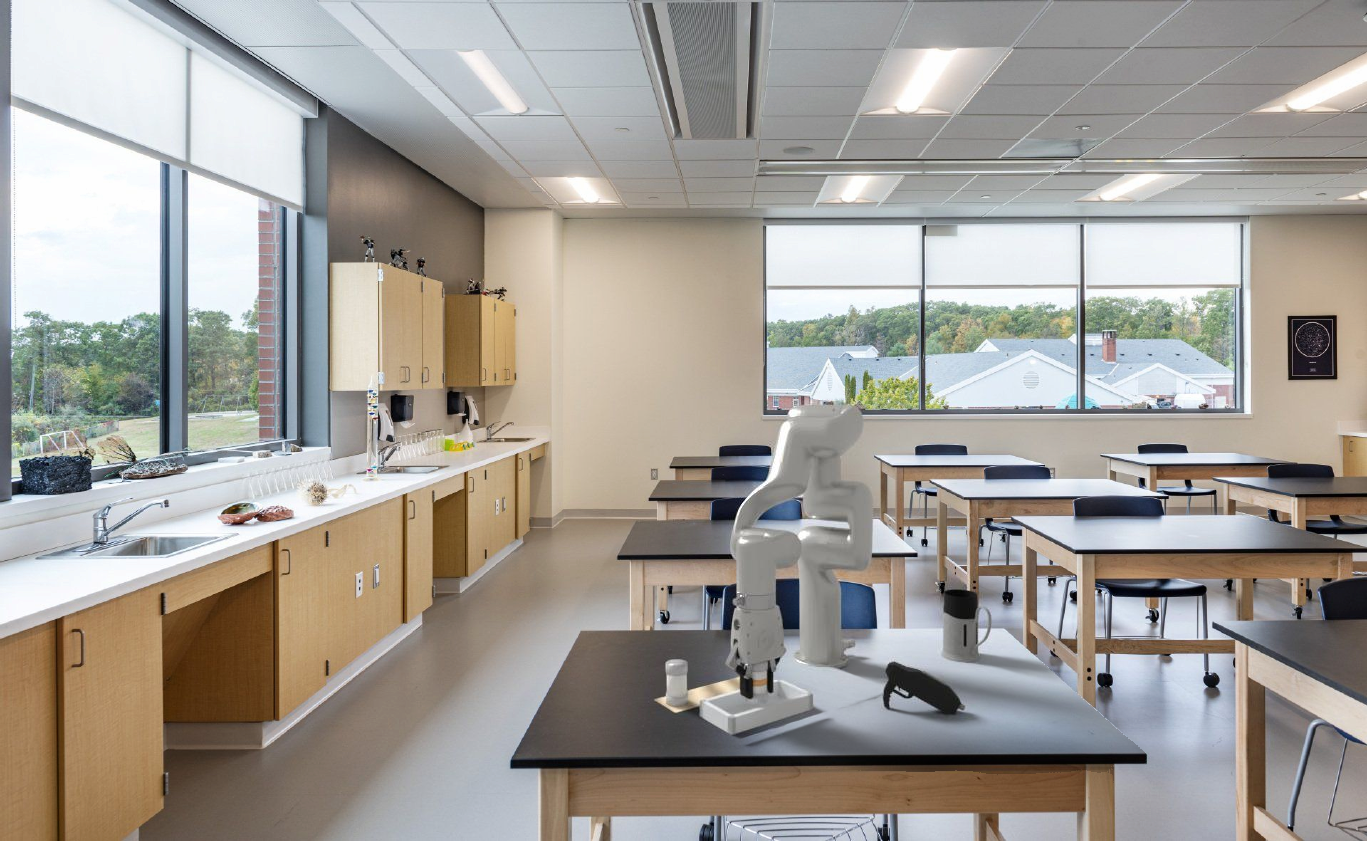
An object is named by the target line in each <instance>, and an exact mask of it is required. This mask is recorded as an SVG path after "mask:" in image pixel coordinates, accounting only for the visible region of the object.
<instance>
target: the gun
mask: <svg viewBox="0 0 1367 841" xmlns="http://www.w3.org/2000/svg"><path fill="white" fill-rule="evenodd" d="M884 671H885V674H886V676H887V681H886V683H885V685H884V687H883V692H882V701H883V702H882V703H883V707H884V708H886V709H887V710H891V707H890V706H891V705H890V701H891V696H892V695H891V694H893V693H894V694H896V695H898V696H899V697H901V698H902V699H907V700H908V699H912V698H913V697H915V698H917V699H918V700H921V701H922V702H924V703H926V704H928V705H929V706H931V707H933V708H935V709H937V710H938V711H941V712H942V713H944V714H945V715H947V716H955V715H956V713H957V711H958V710H961V711H964V710H965V709H966V705H965V704H964V703H962V701H961V699H960V697H959V696H958V695H957V693H956V692H955V691H954V690H953V689H952V687H950V686H949V685H948V684H947V682H945V681H943V680H941V679H939V678H938V677H936V676H934V675H933V674H930V673H929V672H927V671H925V670H921V669H919V668H914V667H910V666H906V665H903V664H902V663H899V662H897V661H891V662H889V663H888V664H887V666H886V668H885V670H884ZM896 687H897V688H898V690H897V689H896ZM901 690H902V691H903V692H906V693H908V694H907V695H906V694H904V693H902V692H901Z"/></svg>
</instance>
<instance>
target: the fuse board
mask: <svg viewBox="0 0 1367 841" xmlns="http://www.w3.org/2000/svg"><path fill="white" fill-rule="evenodd" d="M736 690H740V676H736V677H732V678H730V679H727V680H722V681H719V682H718V681H717V682H713V683H710V684H708V685H703V686H699V687H696V688H692V689H689V690H688V689H687V693H688V704H687V705H685V706H682V707H672V706H669V705H667V704H666V695H665V696H661V697H658V698H655V699H653V700H654V701H655V702H657V703H658V704H660V705H662V706H664V707H665V708H666V709H668V710H669V711H671V712H673V713H675V714H677V713H680V712H684V711H687V710H690V709H694V708H698V707H699V708H700V700H704V699H707V698H711V697H715V696H718V695H722V694H726V693H729V692H733V691H736Z"/></svg>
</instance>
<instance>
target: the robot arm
mask: <svg viewBox="0 0 1367 841" xmlns="http://www.w3.org/2000/svg"><path fill="white" fill-rule="evenodd" d="M786 418H787V419H786V420H785V421H784V422H783V423H782V424H781V425H780V428H779V430H778V434H777V436H776V441H775V446H774V449H773V453H772V457H771V462H770V465H769V471H768V474H767V477H766V480H765V481H764V482H762V483H761V484H760V485H759V486H757V487H756V488H755V489H754V490H753V491H751V493H750V494H749V495H748V496H747V497H746V498H745V500H744V501H743V502H742V504H741V505H740V506H739V508H738V509H737V510H738V511H737V512H736V516H735V519H734V524H733V527H732V531H731V536H730V542H729V543H730V544H729V547H730V548H729V550H730V554H731V556H732V558H733V559H734V561H736V562H735V563H736V564H735V565H736V597H734V598H733V599H732V605H733V606H736V607H735V608H734V611H733V615H732V622H731V631H730V652H729V654H728V656H727V658H726V661H725V666H727V667H729V668H731V669H732V670H733V671H734V672H735V673H736V674H737V676H738V677H740V694H741V695H742V696H744V697H746V698H748V699H752V698H753V679H752V678H750V676H751V669H752V664H756V663H760V662H764V661H768V669H767V689H768V692H769V693H773V680H774V673H775V672H776V671H777V666H778V665H779V662H780V661H781V659H782V658H783V656H785V654H786V653H787V648H786V647H785V638H784V637H785V635H784V627H783V618H782V617H783V616H782V613H781V610H780V606H779V605H777V603H776V602H777V600H776V599H777V595H776V594H777V592H776V590H777V587H776V584H777V581H776V579H777V578H776V576H777V575H776V572H777V570H785V569H788V568H792V567H793V566H795V565H796V564H797V566H798V567H797V569H798V579H799V580H798V581H799V650H796V651H795V652H794V653H793V655H792V656H793V657H792V658H793V659H794V661H796V662H797V663H799V664H802V665H807V666H811V667H819V668H821V667H822V668H828V667H829V668H831V667H833V668H835V669H841V668H843V667H846V666H847V665H848V663H849V657H848V655H847V654H846V653H845V651H847V649H852V648H854V647H856V642H855V640H854V639H853V638H851V639H847V640H843V638H842V589H841V584H840V582H839V579H838V577H837V575H836V574H835V572H834V571H833V570H836V571H838V570H839V571H845V572H846V571H847V572H864V571H867V569H868V568H869V567H870V565H871V562H872V557H873V556H872V554H873V532H874V531H873V528H874V527H873V526H874V501H873V500H874V499H873V494H872V491H871V489H870V487H869V486H868V484H866V483H864V482H861V481H856V480H843V479H842V476H841V474H842V473H841V469H842V468H841V465H842V464H841V463H842V461H841V456H843V455H844V454H846V453H847V452H848V451H849V450H850V449H851V448H852V447H853V446H854V445H855V444H856V443H857V442H858V441H859V439H860V438H861V435H862V432H863V430H864V417H863V414H862V412H861V410H860V408H858V407H857V406H856V405H852V404H802V405H796V406H794V407H791V409H789V411H788V413H787V417H786ZM800 496H802V506H803V512H804V514H805V516H807V517H808V518H810V519H812V520H817V521H823V522H824V521H826V522H838V523H847V524H848V526H849V528H845V527H834V526H824V525H811V526H806V527H804V528H802V529H800V530H799V531H798V533H797V534H796V533H794V532H792V531H790V530H785V529H775V528H766V527H756V523H757V521H758V519H759V518H760V517H761V516H762V515H763V514H764V513H766V512H767V511H768V510H770V509H771V508H773V507H775V506H777V505H780V504H783V503H785V502H788V501H790V500H793V499H796V498H799V497H800ZM737 660H738V663H737ZM745 664H746V666H745Z"/></svg>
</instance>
